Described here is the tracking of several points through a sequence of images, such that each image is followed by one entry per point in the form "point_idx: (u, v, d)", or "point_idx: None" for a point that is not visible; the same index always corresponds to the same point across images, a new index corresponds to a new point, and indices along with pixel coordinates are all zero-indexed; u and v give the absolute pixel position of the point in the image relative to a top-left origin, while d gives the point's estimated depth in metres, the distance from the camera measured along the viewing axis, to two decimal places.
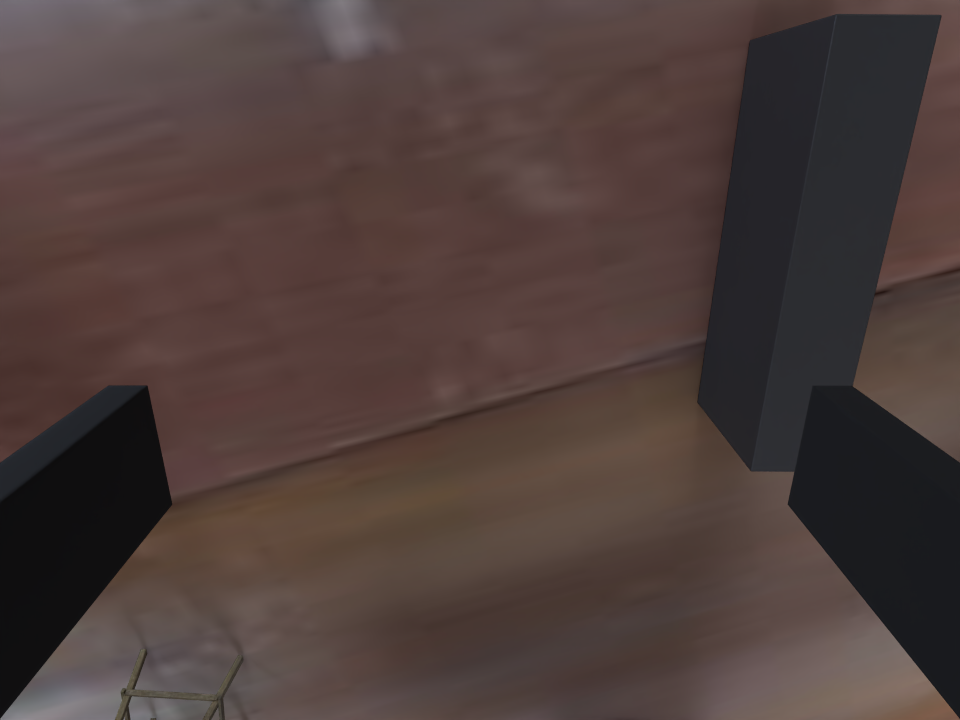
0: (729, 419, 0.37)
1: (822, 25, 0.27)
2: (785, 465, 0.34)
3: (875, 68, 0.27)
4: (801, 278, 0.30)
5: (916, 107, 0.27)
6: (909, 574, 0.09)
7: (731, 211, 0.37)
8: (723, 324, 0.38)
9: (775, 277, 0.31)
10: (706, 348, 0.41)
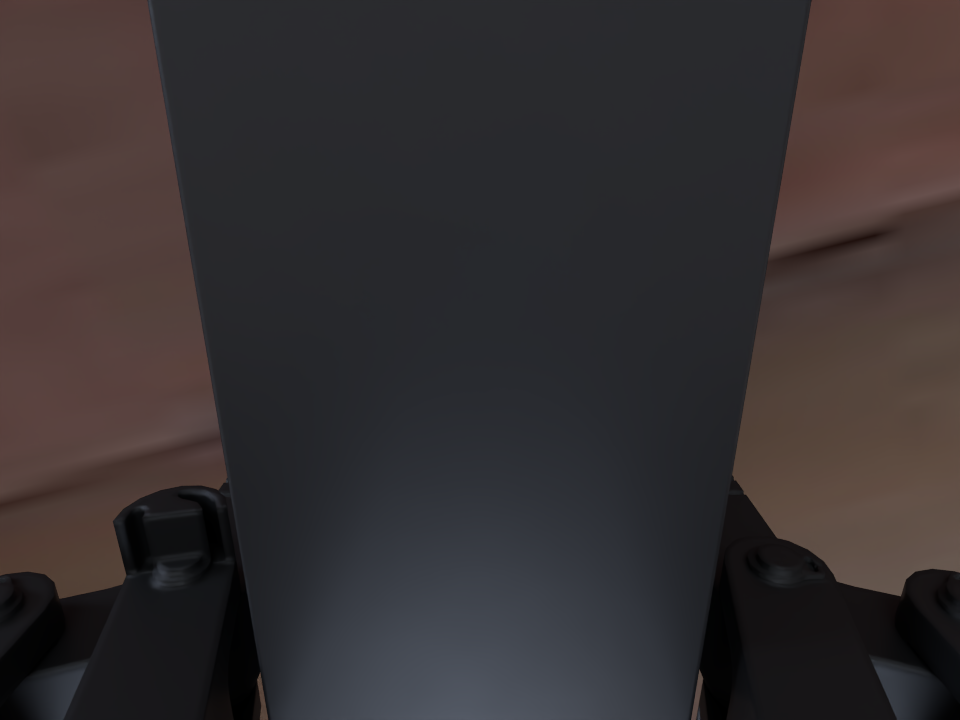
0: None
1: None
2: None
3: None
4: (250, 23, 0.04)
5: None
6: None
7: None
8: None
9: None
10: None
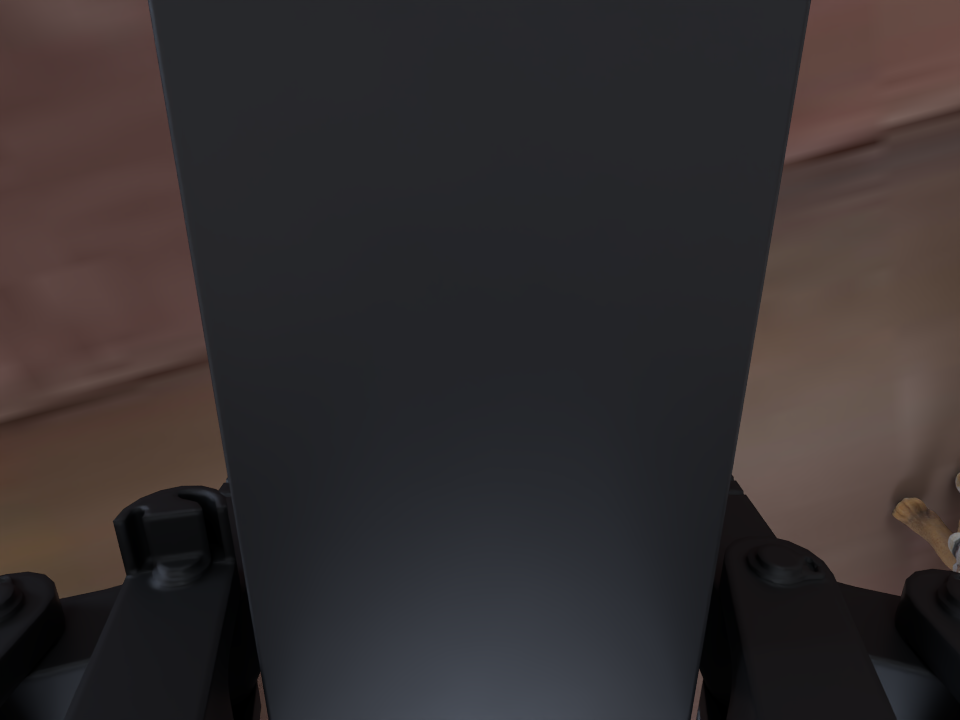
0: None
1: None
2: None
3: None
4: (249, 20, 0.04)
5: None
6: None
7: None
8: None
9: None
10: None
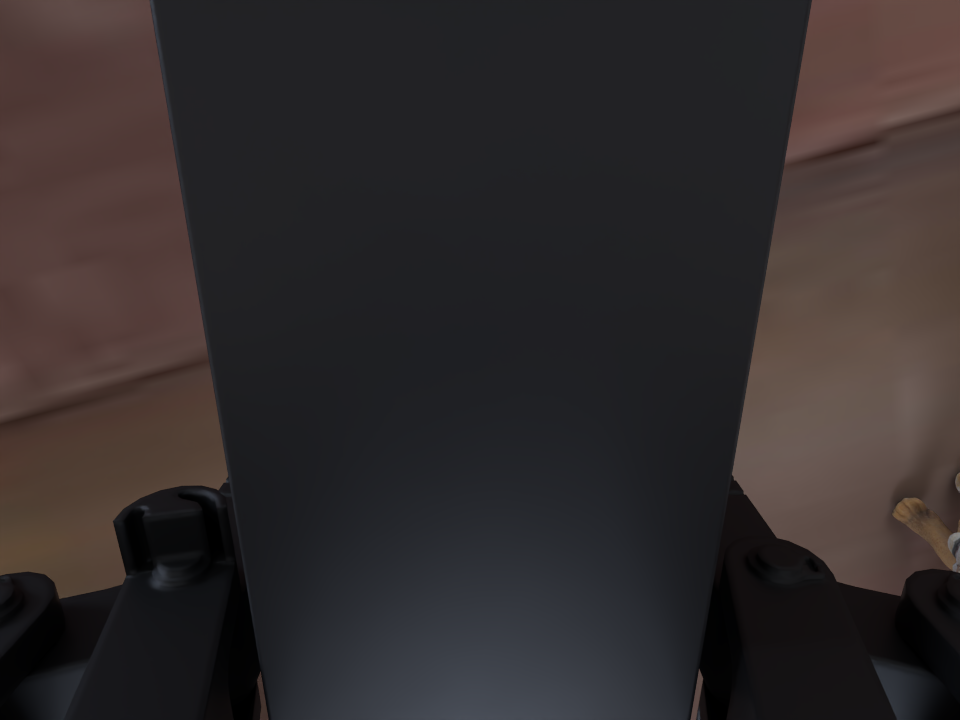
0: None
1: None
2: None
3: None
4: (250, 20, 0.04)
5: None
6: None
7: None
8: None
9: None
10: None
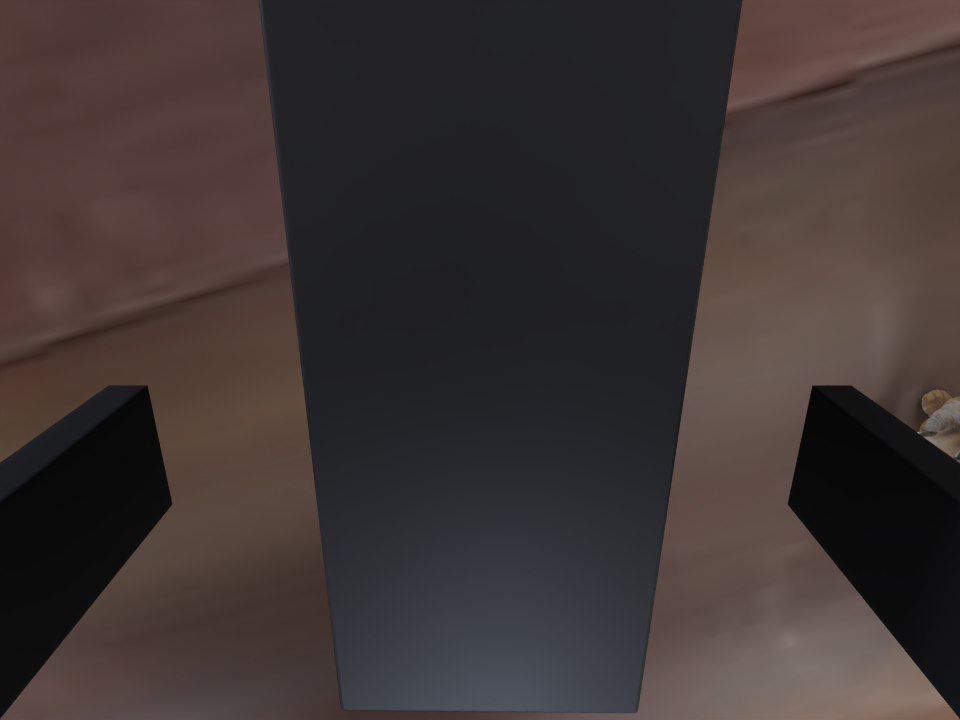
0: None
1: None
2: (460, 694, 0.09)
3: None
4: None
5: None
6: (909, 574, 0.09)
7: None
8: None
9: None
10: None
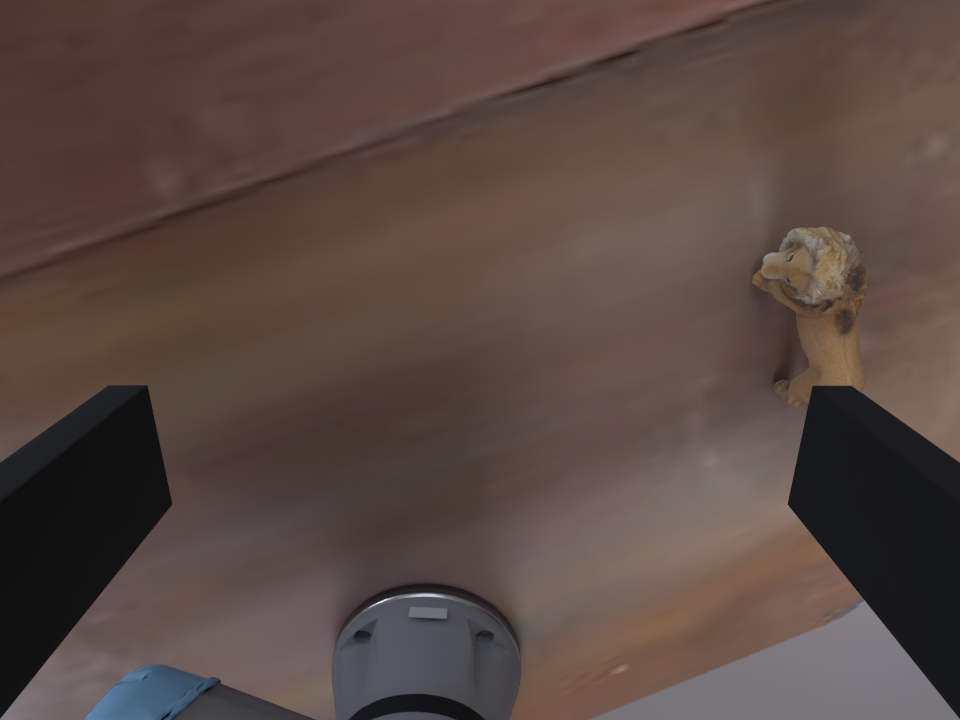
0: None
1: None
2: None
3: None
4: None
5: None
6: (909, 574, 0.09)
7: None
8: None
9: None
10: None
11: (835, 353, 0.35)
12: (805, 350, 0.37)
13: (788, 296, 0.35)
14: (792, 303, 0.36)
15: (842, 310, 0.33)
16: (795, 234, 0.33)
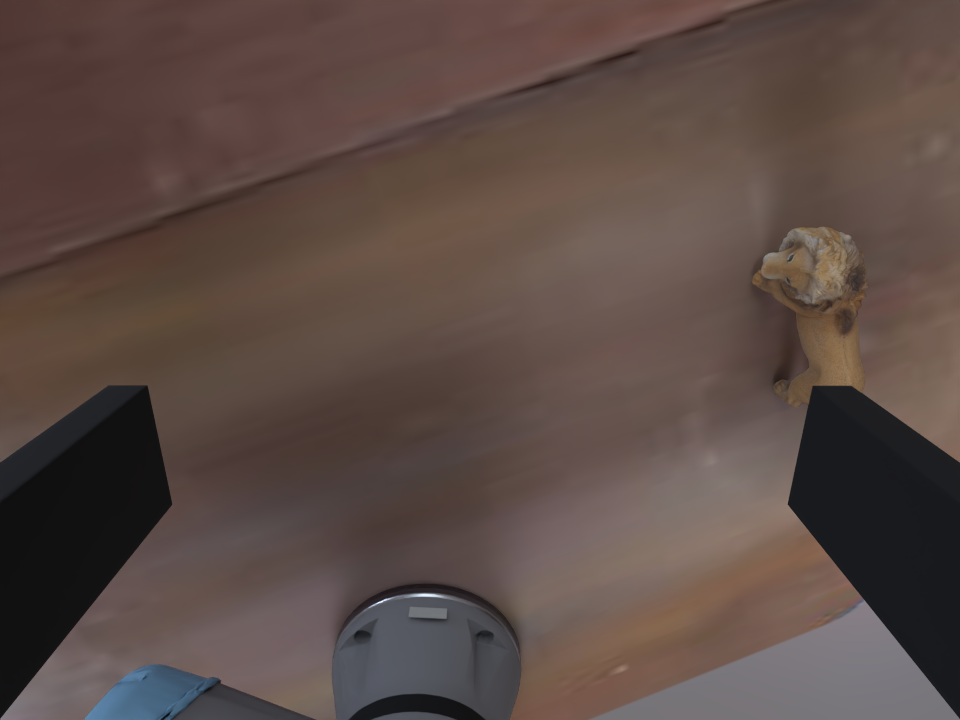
0: None
1: None
2: None
3: None
4: None
5: None
6: (909, 574, 0.09)
7: None
8: None
9: None
10: None
11: (835, 353, 0.35)
12: (805, 350, 0.37)
13: (788, 296, 0.35)
14: (792, 303, 0.36)
15: (842, 310, 0.33)
16: (795, 234, 0.33)
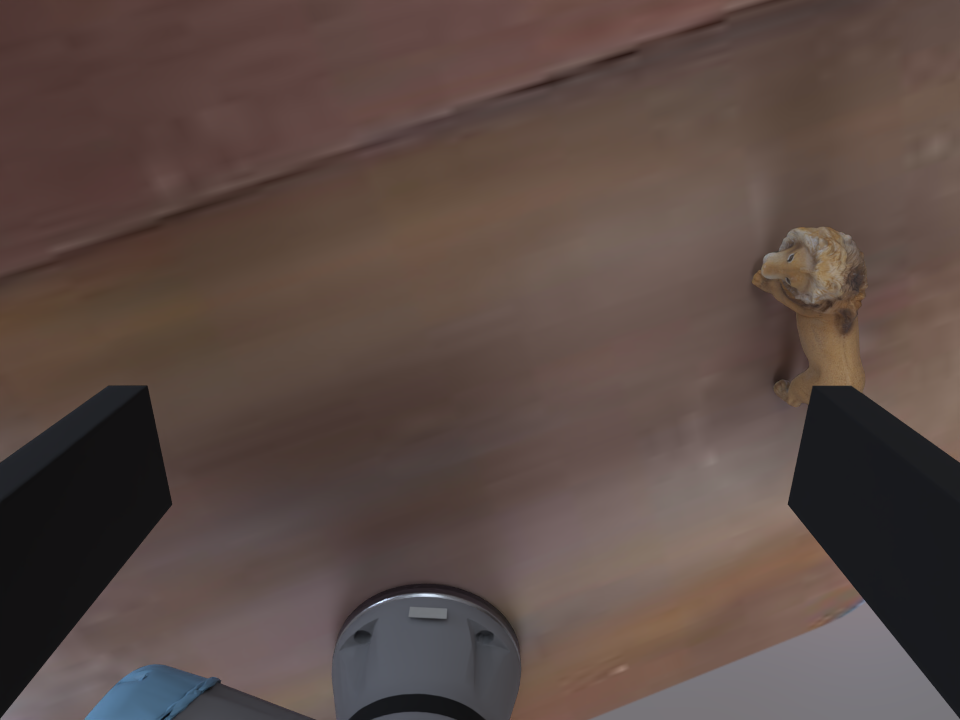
0: None
1: None
2: None
3: None
4: None
5: None
6: (909, 574, 0.09)
7: None
8: None
9: None
10: None
11: (835, 353, 0.35)
12: (805, 350, 0.37)
13: (788, 296, 0.35)
14: (792, 303, 0.36)
15: (842, 310, 0.33)
16: (795, 234, 0.33)
